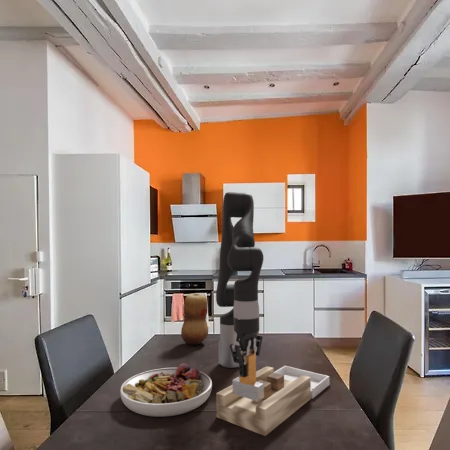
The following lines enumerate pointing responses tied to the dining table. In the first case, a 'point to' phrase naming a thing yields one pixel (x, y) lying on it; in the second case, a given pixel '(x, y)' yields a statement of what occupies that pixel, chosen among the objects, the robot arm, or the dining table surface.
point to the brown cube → (276, 381)
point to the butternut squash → (195, 319)
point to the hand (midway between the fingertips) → (247, 374)
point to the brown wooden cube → (266, 389)
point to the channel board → (263, 404)
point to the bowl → (166, 391)
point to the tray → (317, 380)
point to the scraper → (249, 382)
